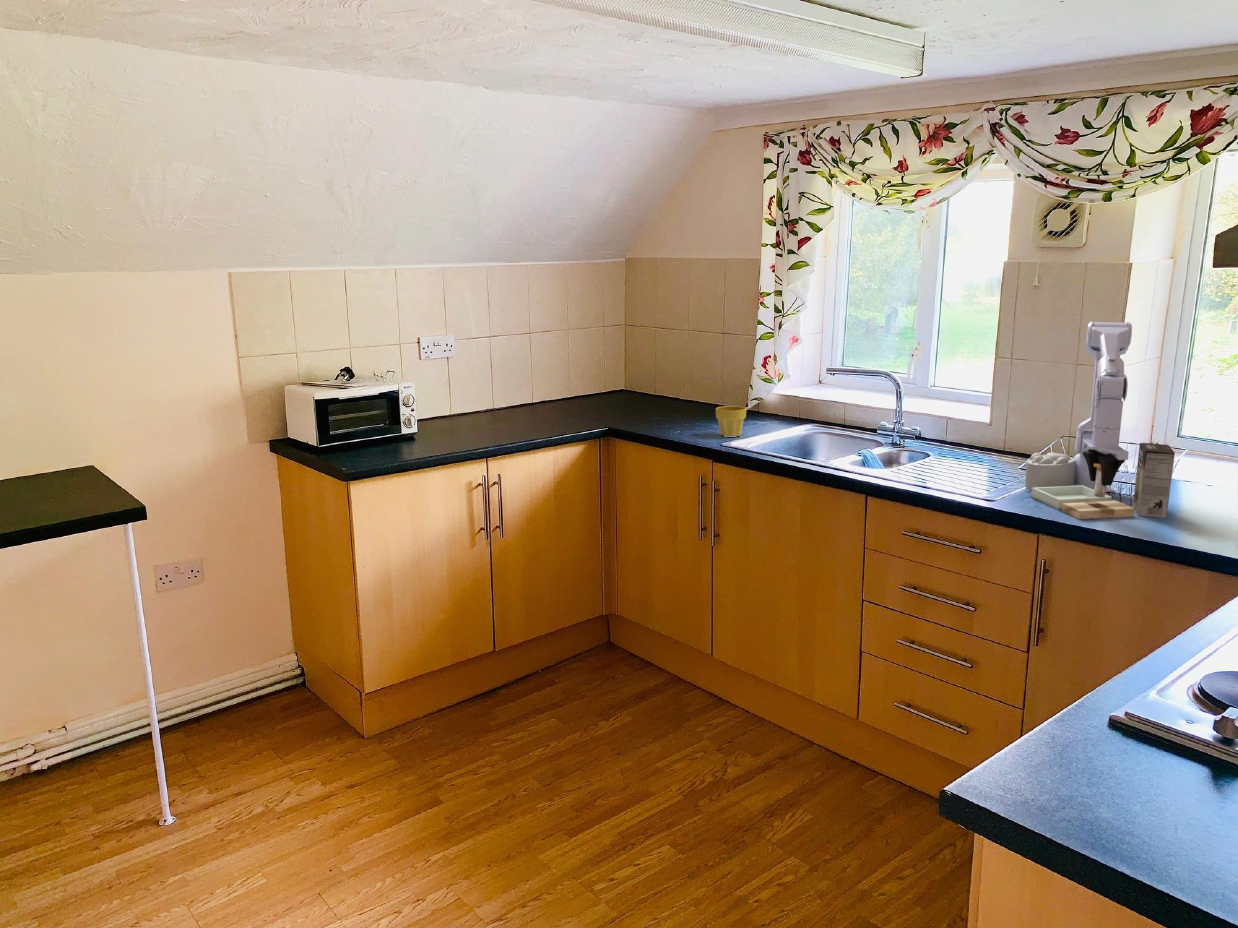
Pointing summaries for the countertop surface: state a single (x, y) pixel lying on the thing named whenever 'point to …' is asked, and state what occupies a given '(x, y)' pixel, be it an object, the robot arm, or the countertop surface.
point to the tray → (1065, 495)
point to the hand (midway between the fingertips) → (1100, 483)
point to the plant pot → (730, 419)
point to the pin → (1098, 482)
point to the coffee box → (1153, 480)
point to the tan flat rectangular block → (1098, 509)
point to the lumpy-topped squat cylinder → (1050, 470)
